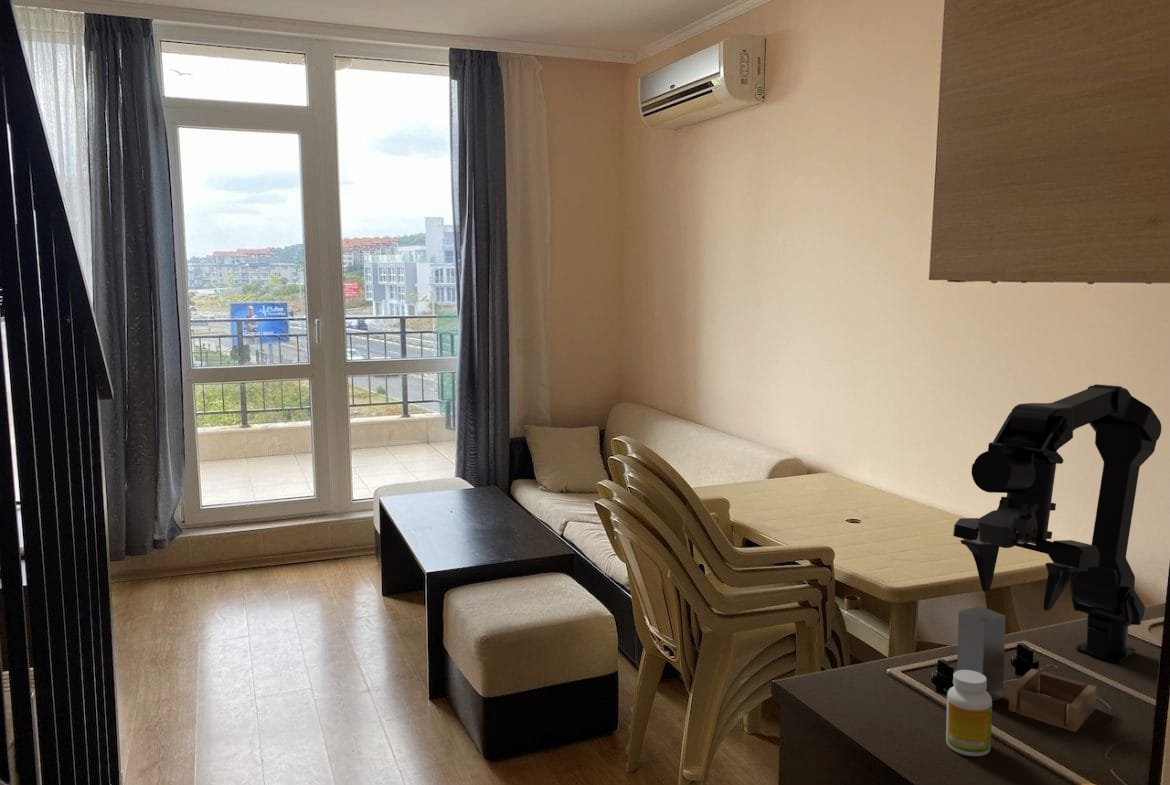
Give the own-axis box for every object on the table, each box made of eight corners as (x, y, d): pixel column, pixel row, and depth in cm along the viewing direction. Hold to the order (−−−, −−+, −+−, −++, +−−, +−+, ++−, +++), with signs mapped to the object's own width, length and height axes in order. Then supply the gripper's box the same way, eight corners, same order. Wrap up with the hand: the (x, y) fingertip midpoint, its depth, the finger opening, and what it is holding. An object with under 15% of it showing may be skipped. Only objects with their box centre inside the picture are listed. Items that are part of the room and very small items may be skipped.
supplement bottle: (995, 759, 111) (997, 687, 110) (950, 756, 112) (952, 684, 111) (985, 737, 116) (987, 668, 115) (942, 734, 117) (943, 665, 116)
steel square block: (977, 685, 131) (979, 605, 129) (1002, 698, 127) (1005, 615, 125) (956, 692, 129) (958, 611, 127) (981, 705, 125) (984, 621, 123)
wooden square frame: (1030, 691, 129) (1031, 668, 129) (1095, 710, 123) (1096, 686, 122) (1008, 712, 123) (1009, 688, 123) (1075, 734, 117) (1076, 708, 116)
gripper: (937, 480, 128) (923, 585, 128) (1064, 506, 112) (1048, 625, 113) (982, 481, 134) (969, 581, 134) (1108, 506, 118) (1093, 619, 119)
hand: (1015, 600), depth 125 cm, fingers open, 9 cm apart
